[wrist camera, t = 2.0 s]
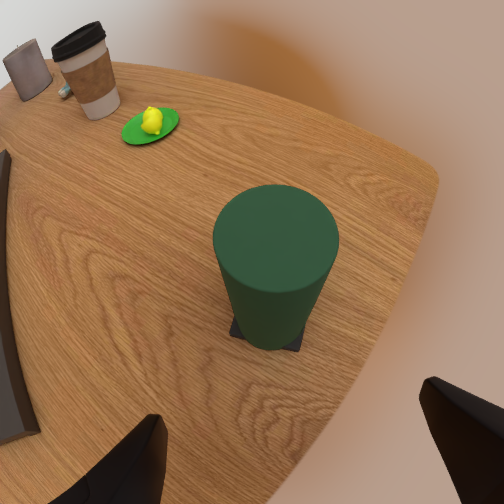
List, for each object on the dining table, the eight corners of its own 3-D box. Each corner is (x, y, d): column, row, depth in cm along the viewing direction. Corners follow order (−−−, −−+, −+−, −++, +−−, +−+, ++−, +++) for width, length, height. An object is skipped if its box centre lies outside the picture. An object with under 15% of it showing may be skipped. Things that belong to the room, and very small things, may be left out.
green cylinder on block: (297, 357, 21) (332, 306, 10) (228, 340, 22) (192, 273, 11) (321, 238, 26) (351, 126, 15) (263, 225, 27) (260, 110, 16)
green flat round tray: (190, 126, 35) (186, 108, 33) (135, 157, 33) (128, 140, 30) (163, 104, 38) (159, 89, 36) (115, 131, 36) (109, 116, 34)
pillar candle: (23, 94, 51) (3, 52, 38) (52, 75, 54) (35, 31, 41) (20, 106, 47) (-3, 60, 34) (53, 84, 50) (33, 36, 36)
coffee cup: (136, 101, 39) (111, 19, 26) (91, 131, 37) (55, 49, 24) (114, 90, 42) (90, 20, 29) (74, 117, 40) (43, 47, 26)
